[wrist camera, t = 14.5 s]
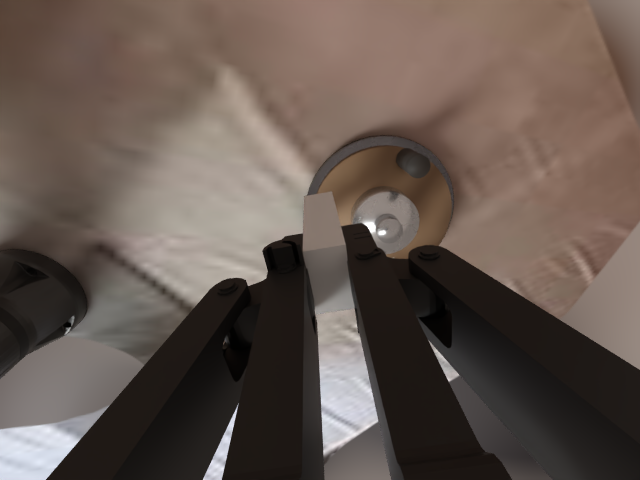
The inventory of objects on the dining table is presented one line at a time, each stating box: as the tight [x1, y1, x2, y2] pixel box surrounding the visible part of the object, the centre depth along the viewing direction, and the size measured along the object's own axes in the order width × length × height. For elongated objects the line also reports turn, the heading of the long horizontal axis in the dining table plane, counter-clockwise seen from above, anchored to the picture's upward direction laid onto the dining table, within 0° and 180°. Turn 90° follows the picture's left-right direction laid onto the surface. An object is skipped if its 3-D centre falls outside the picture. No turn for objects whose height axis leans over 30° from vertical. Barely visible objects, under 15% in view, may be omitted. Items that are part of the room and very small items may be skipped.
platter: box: [316, 145, 452, 259], centre depth 39 cm, size 18×18×6 cm
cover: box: [350, 186, 419, 254], centre depth 38 cm, size 8×8×5 cm
